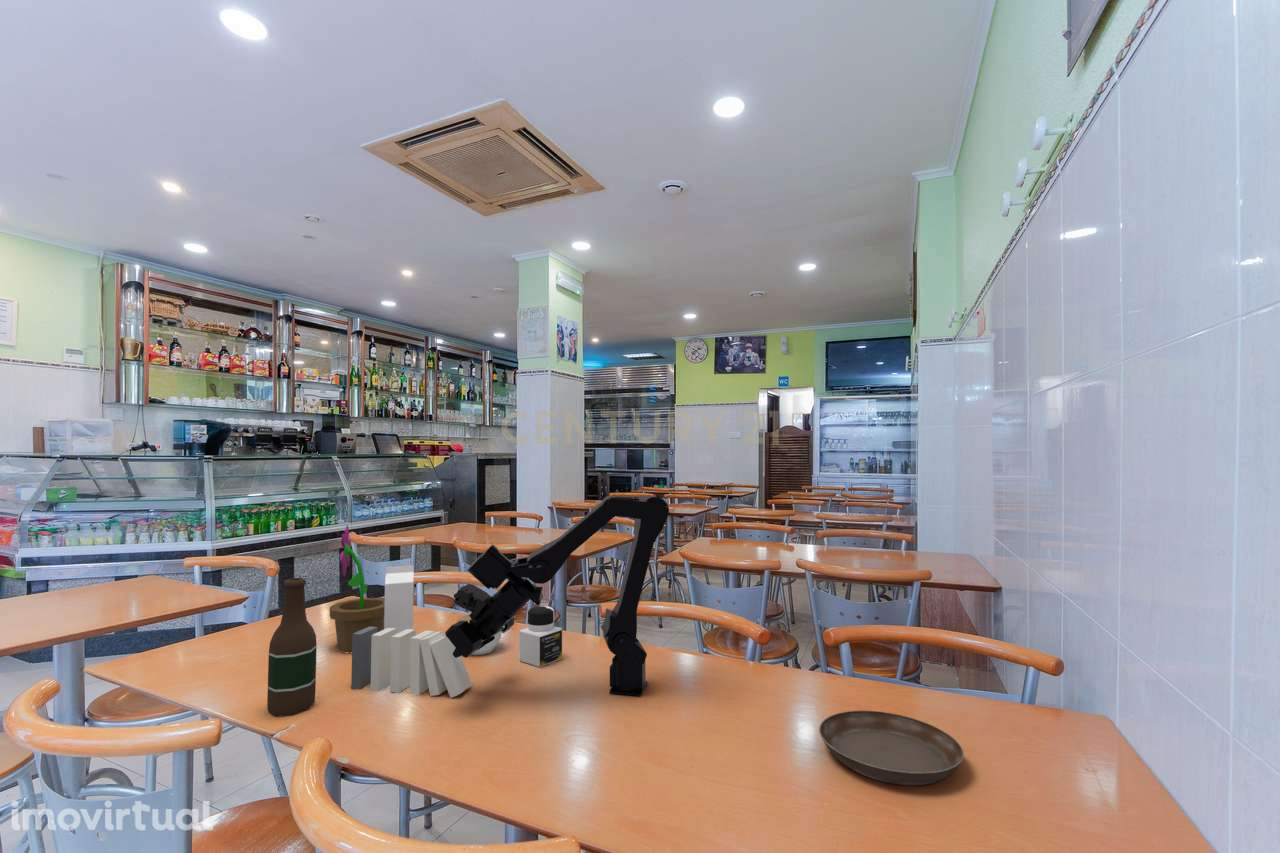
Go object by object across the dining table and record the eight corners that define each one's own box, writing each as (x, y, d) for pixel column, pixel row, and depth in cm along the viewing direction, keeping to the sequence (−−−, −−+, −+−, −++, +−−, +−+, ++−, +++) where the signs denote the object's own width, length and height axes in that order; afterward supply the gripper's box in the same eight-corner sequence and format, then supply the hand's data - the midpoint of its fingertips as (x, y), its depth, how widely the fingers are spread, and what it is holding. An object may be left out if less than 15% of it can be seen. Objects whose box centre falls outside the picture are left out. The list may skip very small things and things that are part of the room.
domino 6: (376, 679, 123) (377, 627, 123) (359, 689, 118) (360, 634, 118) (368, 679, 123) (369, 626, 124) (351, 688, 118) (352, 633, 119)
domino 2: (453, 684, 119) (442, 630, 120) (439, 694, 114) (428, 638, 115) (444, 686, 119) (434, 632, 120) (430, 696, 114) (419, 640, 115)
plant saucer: (846, 716, 105) (846, 698, 105) (976, 753, 92) (975, 731, 92) (798, 763, 89) (797, 741, 89) (947, 815, 76) (946, 789, 76)
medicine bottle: (540, 668, 129) (540, 613, 130) (518, 661, 134) (518, 608, 134) (562, 659, 135) (562, 606, 136) (541, 652, 139) (541, 602, 140)
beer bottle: (293, 719, 104) (296, 584, 106) (256, 715, 106) (260, 582, 107) (324, 701, 112) (327, 575, 113) (290, 698, 114) (293, 574, 115)
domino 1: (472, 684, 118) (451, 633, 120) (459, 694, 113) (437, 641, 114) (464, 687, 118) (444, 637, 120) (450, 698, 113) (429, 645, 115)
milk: (384, 661, 134) (386, 564, 135) (412, 658, 136) (414, 563, 137) (383, 670, 128) (384, 569, 130) (412, 666, 130) (413, 567, 132)
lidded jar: (454, 647, 144) (454, 609, 144) (497, 641, 148) (498, 604, 148) (460, 661, 134) (460, 620, 134) (506, 654, 138) (507, 614, 139)
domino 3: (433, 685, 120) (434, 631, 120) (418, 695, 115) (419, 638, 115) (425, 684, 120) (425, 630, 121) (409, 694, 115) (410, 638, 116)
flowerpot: (334, 640, 149) (337, 523, 151) (394, 635, 154) (396, 521, 155) (322, 658, 136) (325, 529, 137) (388, 652, 140) (390, 527, 142)
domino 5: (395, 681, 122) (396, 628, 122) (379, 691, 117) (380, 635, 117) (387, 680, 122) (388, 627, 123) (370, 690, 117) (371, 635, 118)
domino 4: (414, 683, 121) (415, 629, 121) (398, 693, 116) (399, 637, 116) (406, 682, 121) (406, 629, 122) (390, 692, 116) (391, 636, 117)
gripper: (501, 564, 125) (454, 612, 127) (455, 582, 107) (401, 638, 109) (535, 603, 123) (486, 652, 125) (494, 628, 105) (438, 685, 107)
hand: (454, 655), depth 116 cm, fingers closed
